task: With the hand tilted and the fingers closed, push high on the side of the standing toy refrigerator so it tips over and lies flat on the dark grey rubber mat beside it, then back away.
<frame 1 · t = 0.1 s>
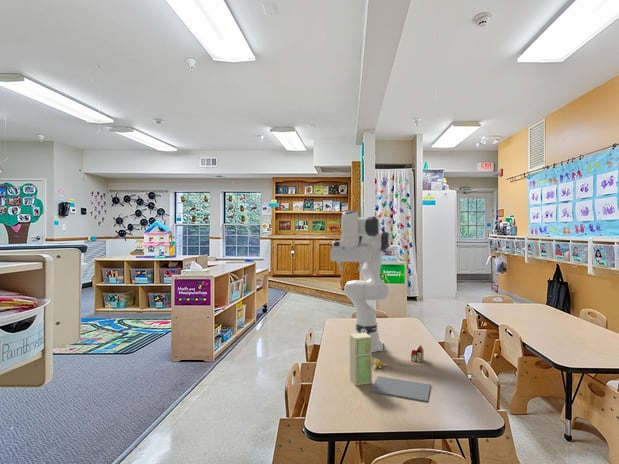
hand: (350, 271, 175), 48 cm above the table, tool pointing down, fingers open, 8 cm apart
character toy: (377, 369, 175), on the table
toy refrigerator: (361, 382, 158), on the table
toy house: (414, 362, 184), on the table
mat: (400, 388, 151), on the table
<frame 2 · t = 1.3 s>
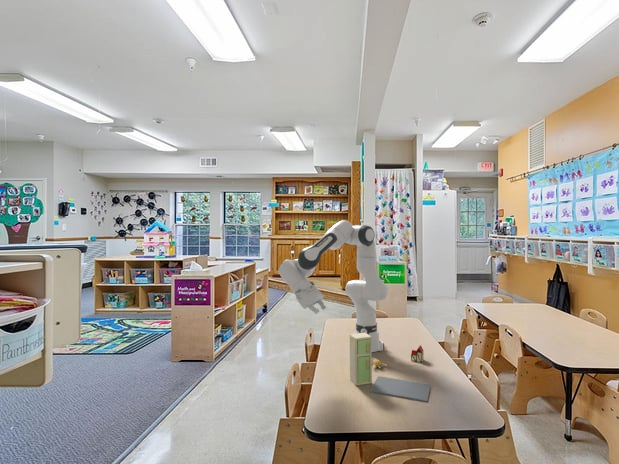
hand: (321, 310, 166), 30 cm above the table, tool tilted 45°, fingers open, 8 cm apart
nothing on the table moved.
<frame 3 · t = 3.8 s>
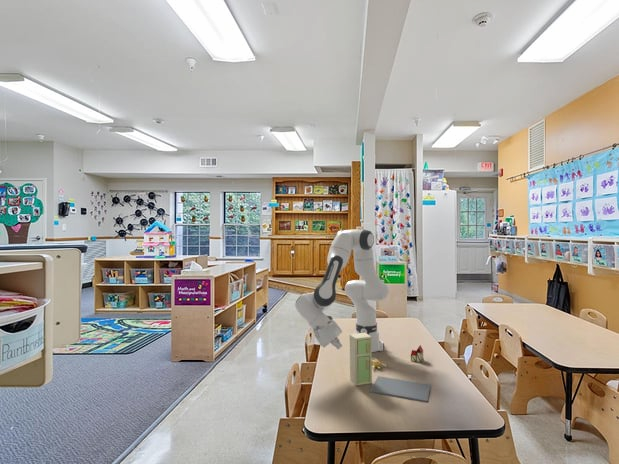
hand: (340, 347, 162), 14 cm above the table, tool tilted 45°, fingers closed
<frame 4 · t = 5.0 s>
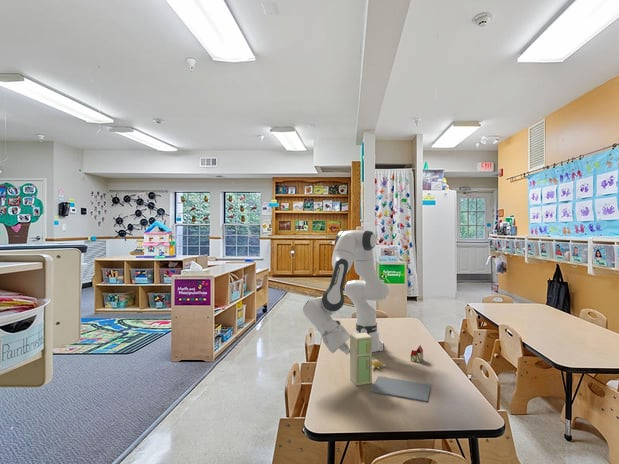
hand: (349, 353, 161), 12 cm above the table, tool tilted 45°, fingers closed, pressing on toy refrigerator
toy refrigerator: (361, 382, 158), on the table, touching gripper
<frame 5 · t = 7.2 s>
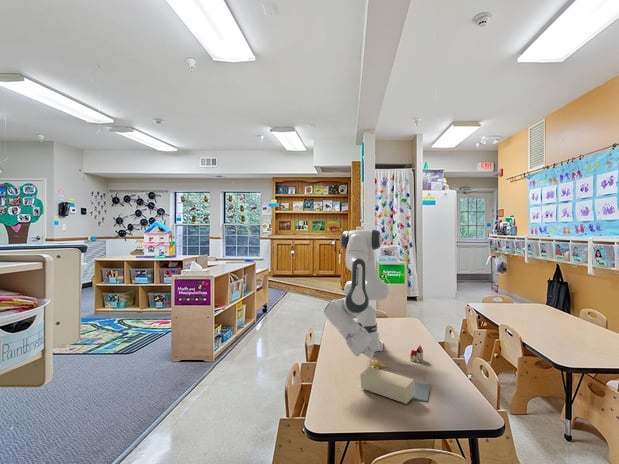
hand: (372, 356, 156), 12 cm above the table, tool tilted 45°, fingers closed
toy refrigerator: (365, 378, 154), point 4 cm above the table, touching mat
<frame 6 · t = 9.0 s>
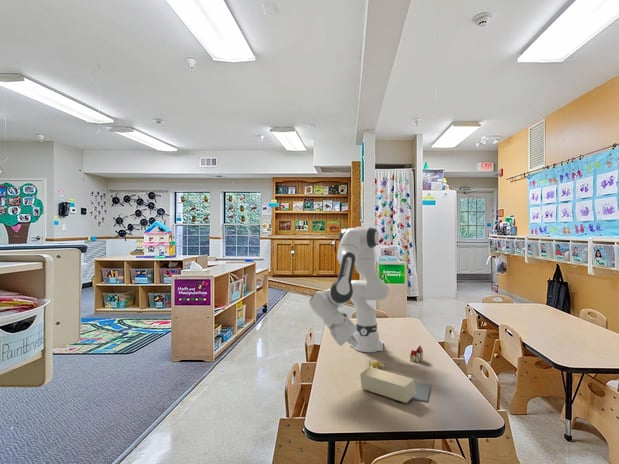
hand: (356, 345, 159), 16 cm above the table, tool tilted 45°, fingers closed
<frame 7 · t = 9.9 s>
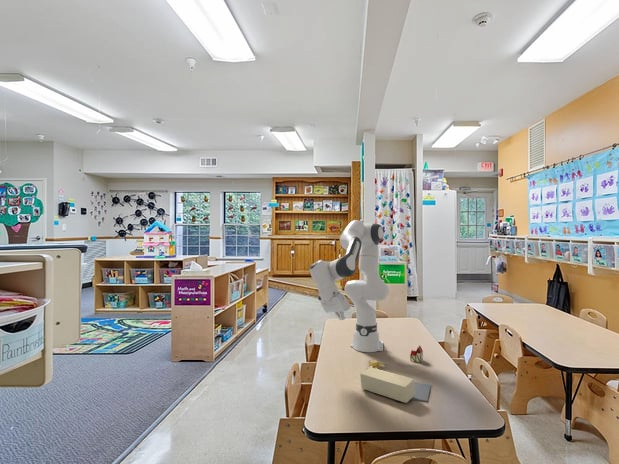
hand: (342, 319, 168), 26 cm above the table, tool tilted 25°, fingers closed
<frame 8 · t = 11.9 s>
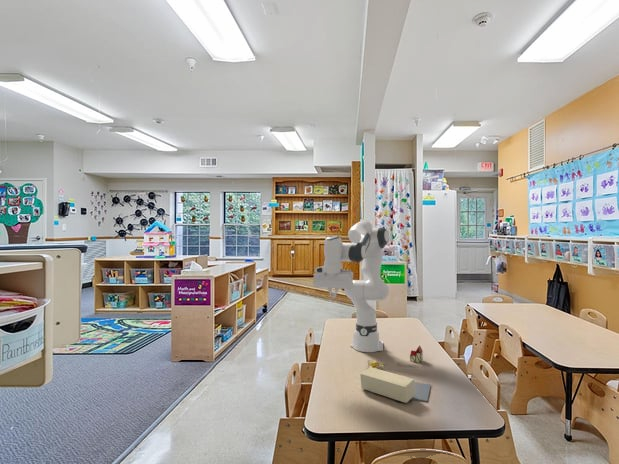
hand: (333, 296, 175), 35 cm above the table, tool pointing down, fingers closed
at the end: toy refrigerator tilted 88°; toy refrigerator touching mat; toy refrigerator inside the target area (4.9 cm from its centre), point 3.6 cm above the table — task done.
